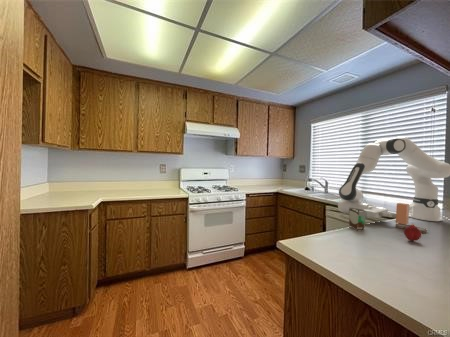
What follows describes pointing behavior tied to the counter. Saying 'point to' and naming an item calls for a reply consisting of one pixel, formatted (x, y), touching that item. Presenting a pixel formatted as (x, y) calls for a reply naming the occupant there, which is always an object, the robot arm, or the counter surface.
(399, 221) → the orange rectangular block
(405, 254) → the counter surface
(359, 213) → the food container
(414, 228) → the onion
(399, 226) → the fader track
